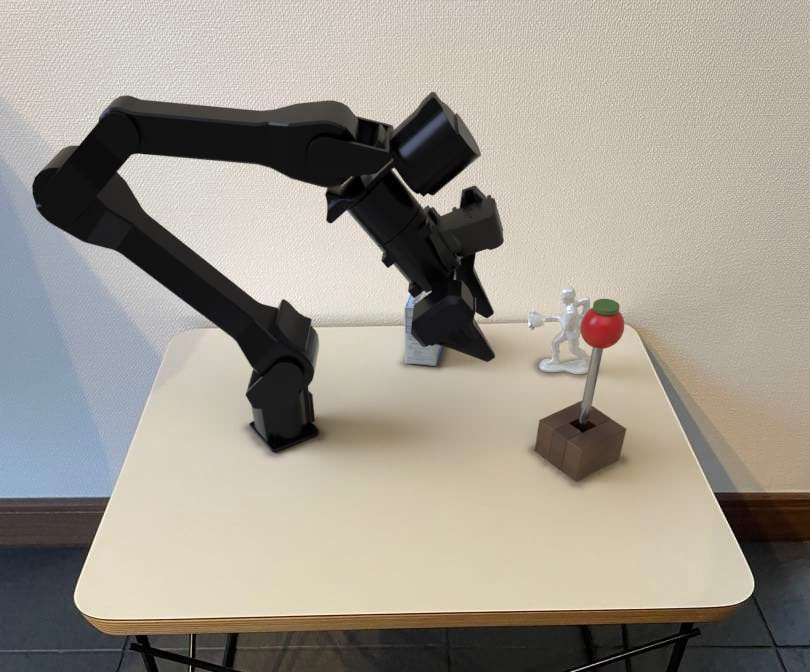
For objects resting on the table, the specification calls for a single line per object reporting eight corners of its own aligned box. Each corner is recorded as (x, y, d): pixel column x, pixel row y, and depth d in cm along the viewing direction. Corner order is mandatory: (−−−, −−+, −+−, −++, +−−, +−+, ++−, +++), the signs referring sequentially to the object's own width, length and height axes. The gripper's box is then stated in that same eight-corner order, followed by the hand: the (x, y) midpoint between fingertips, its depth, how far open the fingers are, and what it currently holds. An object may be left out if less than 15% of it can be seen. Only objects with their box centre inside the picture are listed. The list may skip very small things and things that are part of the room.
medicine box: (436, 367, 104) (438, 309, 97) (404, 364, 104) (403, 305, 98) (445, 338, 109) (448, 280, 103) (415, 334, 110) (415, 277, 104)
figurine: (596, 376, 102) (613, 292, 94) (528, 380, 101) (539, 296, 93) (586, 357, 105) (602, 274, 97) (520, 361, 105) (530, 278, 96)
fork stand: (575, 482, 87) (582, 451, 84) (534, 450, 91) (539, 419, 88) (619, 459, 90) (627, 428, 86) (577, 430, 94) (583, 399, 90)
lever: (576, 471, 88) (606, 320, 74) (550, 452, 91) (575, 302, 77) (603, 458, 90) (638, 307, 76) (577, 439, 92) (606, 290, 79)
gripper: (461, 210, 65) (561, 339, 73) (464, 137, 78) (548, 254, 86) (365, 287, 70) (467, 400, 78) (383, 207, 84) (469, 310, 91)
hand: (491, 336), depth 83 cm, fingers open, 9 cm apart
